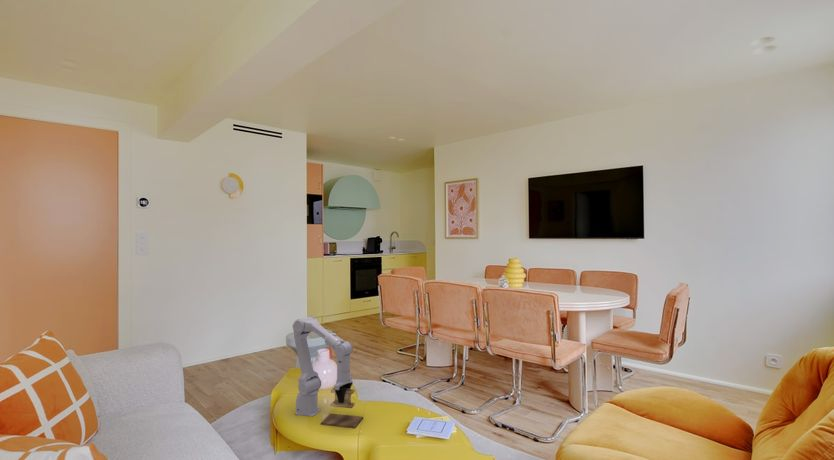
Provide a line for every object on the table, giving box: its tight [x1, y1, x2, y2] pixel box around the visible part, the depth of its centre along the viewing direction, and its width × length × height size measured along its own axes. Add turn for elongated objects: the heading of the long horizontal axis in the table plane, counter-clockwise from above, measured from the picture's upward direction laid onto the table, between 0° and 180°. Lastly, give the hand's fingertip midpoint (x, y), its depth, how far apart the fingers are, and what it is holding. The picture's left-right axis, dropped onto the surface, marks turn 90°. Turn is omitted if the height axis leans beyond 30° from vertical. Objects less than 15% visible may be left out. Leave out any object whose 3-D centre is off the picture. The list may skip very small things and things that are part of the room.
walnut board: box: [320, 413, 364, 429], centre depth 176 cm, size 16×10×1 cm, turn 78°
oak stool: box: [330, 387, 356, 409], centre depth 177 cm, size 4×10×7 cm, turn 76°
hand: (343, 400), depth 177 cm, fingers closed on oak stool, 4 cm apart
